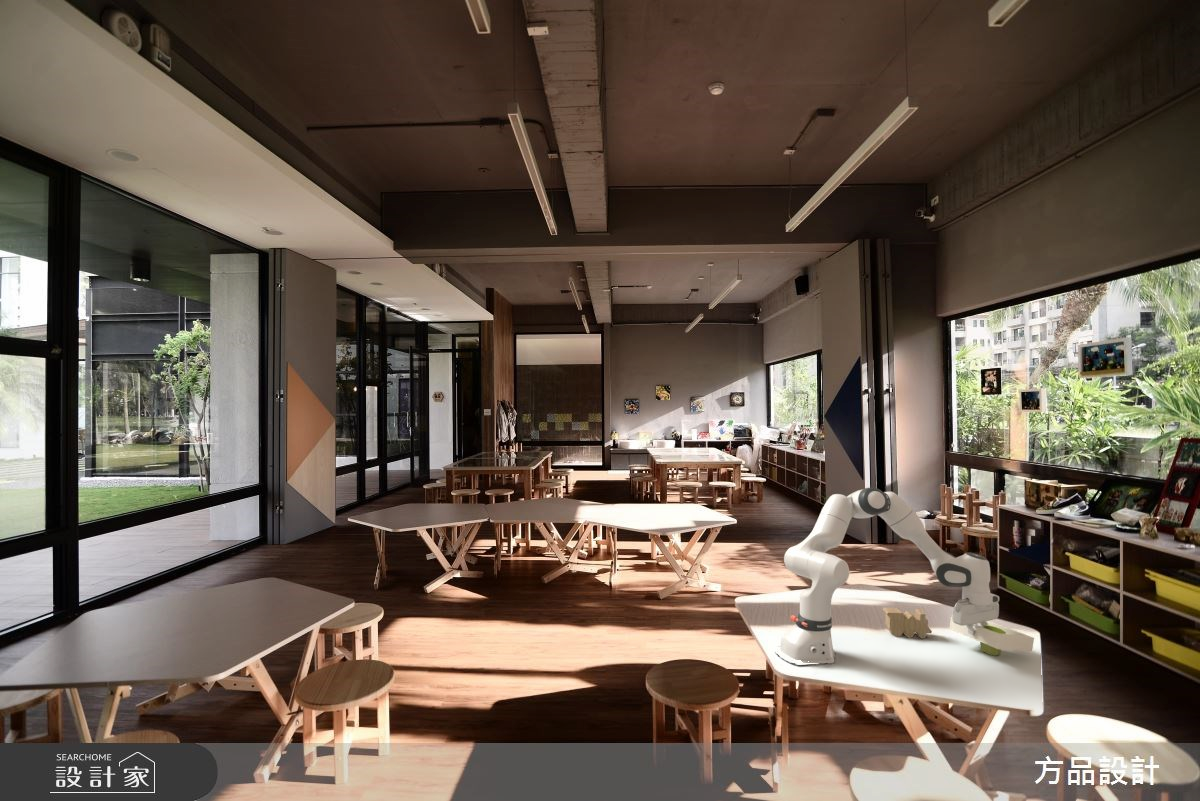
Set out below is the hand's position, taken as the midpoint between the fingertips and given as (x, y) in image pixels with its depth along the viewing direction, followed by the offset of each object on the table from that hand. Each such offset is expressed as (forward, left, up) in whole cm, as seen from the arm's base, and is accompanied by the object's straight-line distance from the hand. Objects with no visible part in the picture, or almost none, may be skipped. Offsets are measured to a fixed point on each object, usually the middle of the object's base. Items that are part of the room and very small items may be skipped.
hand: (975, 633), depth 216 cm
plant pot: (+9, 0, -9) cm, 12 cm away
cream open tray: (+8, 0, -4) cm, 9 cm away
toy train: (-8, +23, -9) cm, 26 cm away
